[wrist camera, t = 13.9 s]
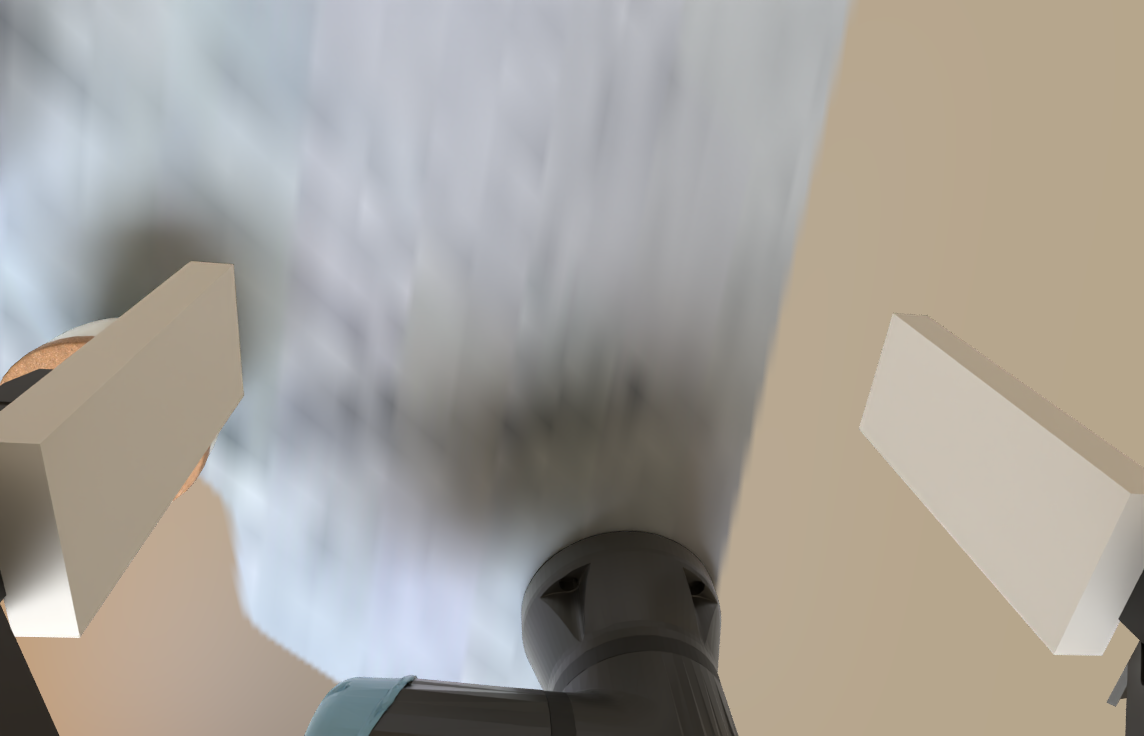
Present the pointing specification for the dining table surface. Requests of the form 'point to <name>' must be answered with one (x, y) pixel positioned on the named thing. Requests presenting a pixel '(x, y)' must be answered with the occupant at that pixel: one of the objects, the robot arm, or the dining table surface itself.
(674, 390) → the dining table surface
